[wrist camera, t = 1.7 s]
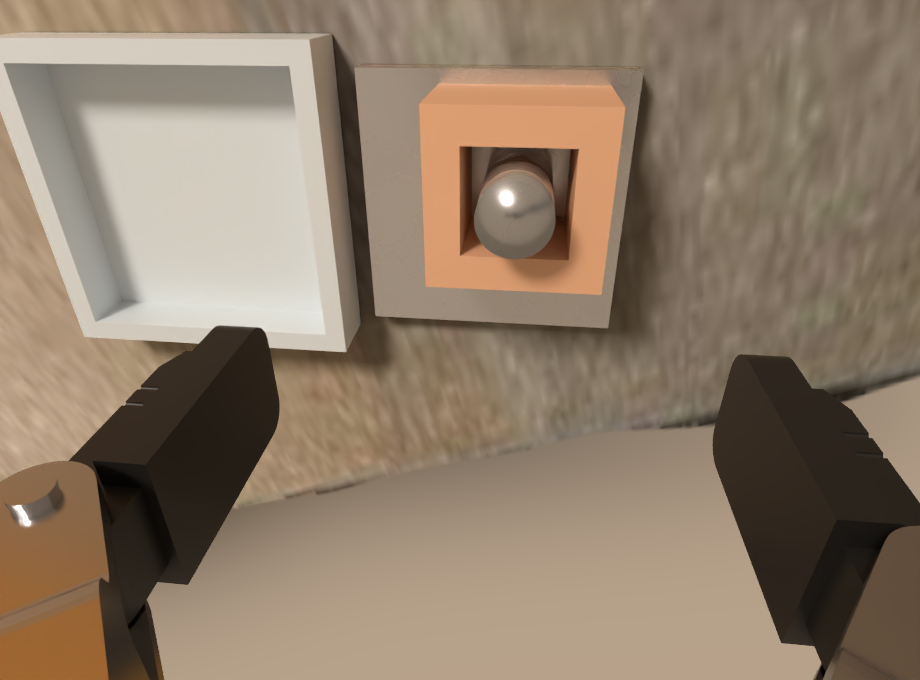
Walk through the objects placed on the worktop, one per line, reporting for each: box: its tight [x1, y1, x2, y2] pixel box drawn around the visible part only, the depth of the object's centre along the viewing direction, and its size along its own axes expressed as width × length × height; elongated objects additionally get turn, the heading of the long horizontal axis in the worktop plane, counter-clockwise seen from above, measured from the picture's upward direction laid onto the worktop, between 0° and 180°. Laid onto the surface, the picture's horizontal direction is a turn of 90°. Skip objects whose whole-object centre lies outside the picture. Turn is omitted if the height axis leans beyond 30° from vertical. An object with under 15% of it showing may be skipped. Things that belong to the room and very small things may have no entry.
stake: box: [354, 64, 644, 328], centre depth 22 cm, size 10×10×6 cm
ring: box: [419, 84, 626, 295], centre depth 21 cm, size 6×6×4 cm
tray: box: [0, 32, 361, 352], centre depth 25 cm, size 12×12×2 cm
